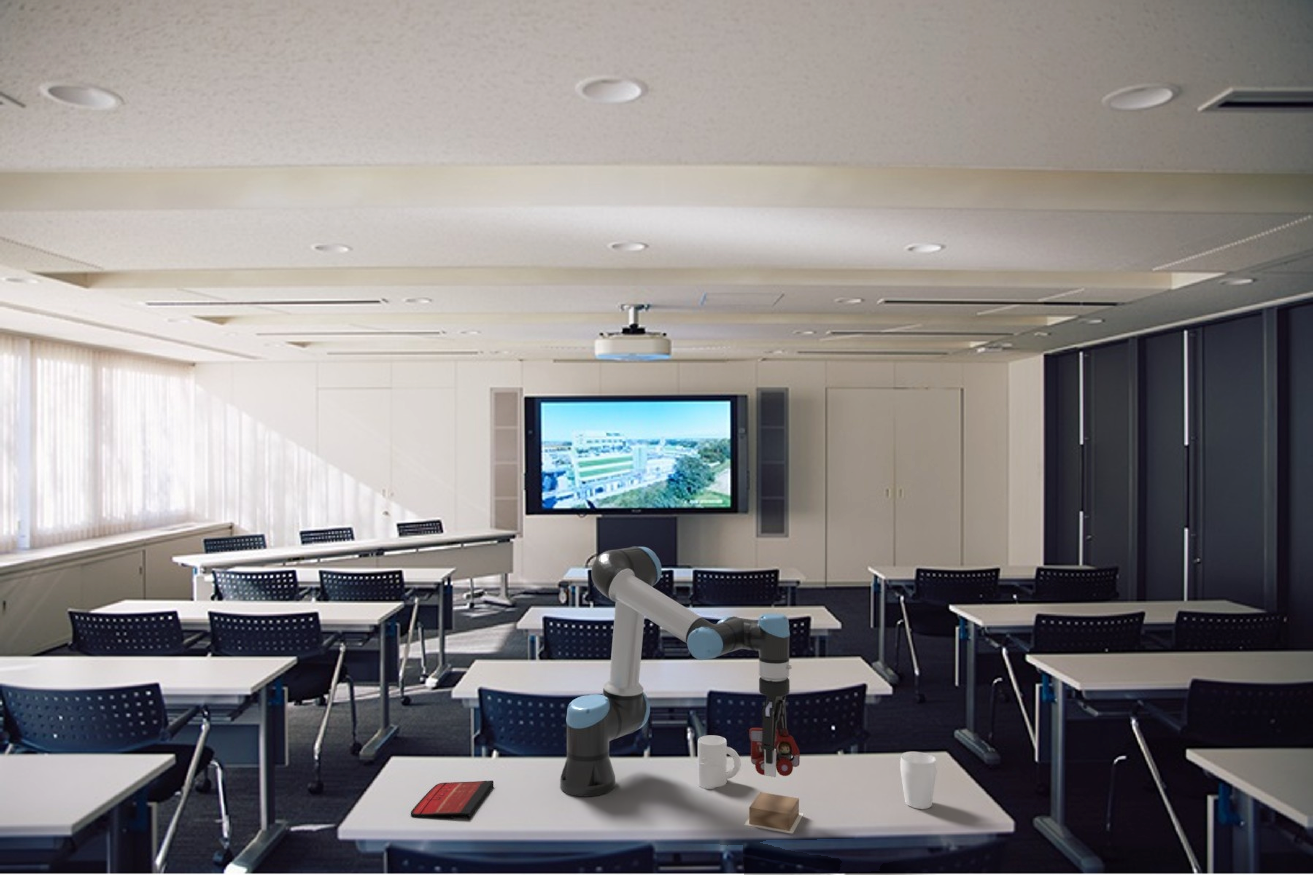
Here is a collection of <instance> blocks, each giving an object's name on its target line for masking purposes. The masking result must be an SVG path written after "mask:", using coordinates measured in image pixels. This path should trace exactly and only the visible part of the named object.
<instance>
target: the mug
mask: <svg viewBox="0 0 1313 875" xmlns="http://www.w3.org/2000/svg"><path fill="white" fill-rule="evenodd" d="M727 744H728V743H727V739H726V738H725V737H724V736H720V735H715V734H714V735H708V734H707V735H703V736H700V737H699V738H698V739H697V784H698V786H699V787H700V788H702V789H707V790H714V789H715V788H720V787H723V786H725V785H726V784H727V782H728V781H727V780H728V779H732V778H733V777H735V776H736V775H738V773H739V772H740V771H741V766H742V761H741V757H740V755H739V754H738V752H737V751H736V750H735V749H733V748H732V747H730V746H727ZM727 756H730V757H731V758H732V760H733V767H732V768H731V769H730V770H729V771H727V769H728V767H727V763H728V762H727V761H728V759H727V758H728V757H727Z"/></svg>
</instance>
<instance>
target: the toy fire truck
mask: <svg viewBox="0 0 1313 875" xmlns="http://www.w3.org/2000/svg"><path fill="white" fill-rule="evenodd" d="M762 728H763V727H751V728H750V729H749V732H748V733H749V734H748V735H749V736H748V737H749V740H750V762H751V764H752V765H754V766H755V770H756V772H757V773H758V775H761V776H764V749H761V746H762ZM786 728H787V727H786ZM786 728H783V729H781V731H780V734H779V732H778V730H777V729H776V738H775V749H776V753H777V745H778V744H779V745H778V749H779V752H778V753H777V755H776V773H778V774H779V775H780V776H783V777H788V776H790V775H791V774H792V773H793V770H794V767H795V768H796V767H797V768H798V767H799V766H800V759H801V758H800V756H801V755H800V753H801V752H800V749H799V747H798V745H797V743H796V741H795V739H794V737H793V736H792V735H791V734H789V730H788V728H787V729H786Z"/></svg>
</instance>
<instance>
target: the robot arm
mask: <svg viewBox="0 0 1313 875" xmlns="http://www.w3.org/2000/svg"><path fill="white" fill-rule="evenodd" d="M662 571H663V570H662V564H661V561H660V559H659V557H658V556H657V554H656V552H654V551H653V550H652V549H650V548H649V547H646V546H631V547H630V546H629V547H626V548H624V547H623V548H619V549H609V550H605V551H604V552H602V553H600V554H599V555H598V556H597V557H596V558H595V560H594V561H593V563H592V567H591V572H590V573H591V576H590V577H591V580H592V582H593V584H594V587H595V588H596V589H597V591H599V592H600V593H601V594H602V596H605V597H606V598H607V599H609V600H610V601H612V602H614V603H615V607H614V617H613V618H614V619H613V629H612V630H613V631H612V632H613V633H612V640H611V641H612V643H611V655H610V656H611V657H610V666H609V679H608V680H607V681H606V682H605V683H604V684H603V688H602V689H603V690H602V694H596V693H594V694H593V693H591V694H588V695H582V696H579V697H577V698H575V699H573V700H572V701H571V702H569V704H568V706H567V709H566V710H567V711H566V718H565V720H566V721H565V722H566V759H565V761H564V766H563V768H562V771H561V775H560V779H559V781H560V782H559V787H560V790H561V791H562V792H564V793H566V794H568V795H573V796H577V797H593V796H594V797H596V796H600V795H604V794H607V793H609V792H610V791H613V789H615V787H616V774H615V771H614V767H613V764H612V762H611V758H610V742H611V741H613V740H616V739H618V738H621V737H624V736H626V735H630V734H633V733H635V732H636V731H638V730H639V729H641V728H643V726H645V724H646V723H647V722H648V719H649V717H650V712H651V707H650V706H651V705H650V701H649V700H648V697H647V695H646V693H645V692H644V687H643V686H642V685H641V683H640V676H641V674H640V673H641V664H642V663H641V661H642V660H641V659H642V648H643V639H644V624H645V618H646V619H648V620H649V621H651V622H652V623H654V624H656V625H657V626H659V627H661V628H662V629H663V630H665V631H666V632H668V633H670V634H672V635H673V636H674V637H675V638H677V639H679V640H680V641H683V642H684V643H686V645H687V649H688V651H689V652H690V654H691V655H692V657H694V658H695V659H697V660H700V661H703V660H712V659H715V658H717V657H720V656H723V655H725V654H728V653H732V652H735V651H738V650H750V651H756V652H757V651H758V675H759V679H758V692H759V693H760V694H761V695H762V696H765V697H766V701H764V706H763V707H762V709H761V710H762V727H761V728H762V746H761V749H764V775H763V776H766V777H771V778H772V777H773V778H776V777H777V769H776V755H777V753H778V752H779V749H778V745H779V744H778V745H777V753H776V749H775V738H776V729H777V730H778V732H779V734H780V731H781V729H783V728H786V729H787V730H788V728H787V711H786V710H787V709H786V707H787V706H786V699H787V696H788V695H789V693H790V684H791V683H790V680H791V679H790V678H789V676H790V670H791V669H792V667H793V666H792V665H790V636H791V633H790V627H789V626H790V623H789V618H788V616H786V615H784V614H781V613H774V612H773V613H772V612H770V613H768V612H767V613H762V614H759V617H758V619H757V620H755V619H751V618H750V619H749V618H744V617H739V616H735V615H733V616H722V617H721V618H720V620H719V621H717V623H712V622H710V621H709V620H708V619H707V620H706V619H705V618H703V617H702V616H700V615H698V614H697V613H695V612H694V611H692V610H691V609H689V608H687V607H685V606H684V605H682V604H681V603H679V602H678V601H676V600H674V599H673V598H671V597H669V596H667V595H666V594H665V593H663V592H661V591H660V590H658V589H656V588H654V587H653V586H655V585H656V584H657V583H658V582H659V581H660V579H661V576H662Z"/></svg>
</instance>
